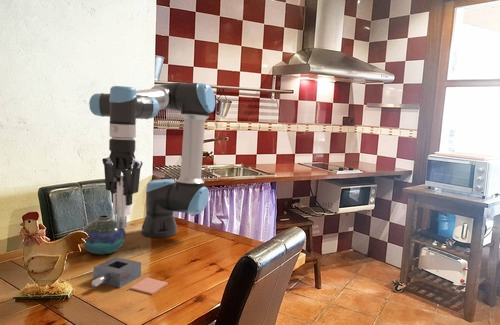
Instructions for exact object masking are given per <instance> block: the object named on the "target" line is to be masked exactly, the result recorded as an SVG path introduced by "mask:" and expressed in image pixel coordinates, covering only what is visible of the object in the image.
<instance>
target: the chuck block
mask: <svg viewBox="0 0 500 325" xmlns="http://www.w3.org/2000/svg"><path fill="white" fill-rule="evenodd" d="M139 277H142V262H140V261H137V260H132V259H128V258H124V257H119V256H115V257H113V258H111V259H108V260H106V261H104V262H102V263H99V264H97V265H95V266H94V267H93V280H92V281H91V286H92V287H94V288H96V287H98V286H100V285H102V284H103V285H107V286H110V287H114V288H118V289H121V288H122V287H124V286H126V285H128V284H130V283H132V282H133V281H134V280H136V279H138V278H139Z"/></svg>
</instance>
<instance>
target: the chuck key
mask: <svg viewBox="0 0 500 325" xmlns="http://www.w3.org/2000/svg"><path fill="white" fill-rule="evenodd" d="M113 182H117V203H116V214H115V216H116V218H115V219H116V220H115V221H116V228H118V229H123V228H124V229H126V228H127V221H128V220H127V218H128V217H127V216H128V215H127V216H123V195H124V193H125V188H124V179H123V175H121V176H117V177H113Z"/></svg>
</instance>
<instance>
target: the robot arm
mask: <svg viewBox="0 0 500 325" xmlns="http://www.w3.org/2000/svg"><path fill="white" fill-rule="evenodd" d="M88 106H89V110H90V112H91V113H92V114H93V115H94V116H96V117H109V137H110V139H109V140H108V141H109V143H108V145H109V146H108V148H109V149H108V150H109V152H110V154H109V156H108V157H105V158H102V164H103V167H104V183H105V184H104V185H105V190H106V191H109V192H110V194H111V195H110V197H111V198H110V199H111V203H112V215H114V216H116V203H117V182H113V177H117V176H123V179H124V188H125V193H124V195H123V216H129V215H131V206H132V204H133V195H134V194H136V193H138V192H139V190H140V189H139V188H140V179H141V178H140V177H141V169H142V166H143V161H142V160H141V161H139V160H137V159H136V156H135V151H136V139H134V138H136V137H137V135H136V131H137V130H136V128H137V125H136V124H137V120H136V119H138V120H139V119H141V120H149V119H153V118H155V117H156V116H157V115H158V114H159V111H160V110H171V111H179V112H180V116H181V117H182V118H183V134H182V145H181V146H182V148H181V149H182V150H181V162H180V165H181V166H180V176H179V178H178V179H176V182H175V180H174V179H173V178H163V179H162V178H161V179H154V180H151V181H149V182H148V183H147V184H146V189H145V190H146V191H145V192H146V193H145V196H146V197H145V201H146V203H145V217H144V220H143V223H142V225H141V234H142V235H143V236H145V237H148V238H156V239H157V238H160V239H161V238H169V237H172V236H175V235H176V234H177V233H178V225H177V223H176V218H175V215H174V212H176V213H177V212H178V213H183V214H184V213H186V214H188V215H191V214H193V215H199V214H201V213H202V212H203V211H204V210H205V209H206V207H207V204H208V201H209V197H210V196H209V195H210V193H209V189H208V187H206V186H205V181H204V180H203V179H202V170H203V156H204V155H203V154H204V140H205V127H206V120H208V119H209V118H210V114H211V113H213V112H214V111H215V108H216V96H215V92H214V90H213V88H212V87H211V86H210V85H209V84H208V83H203V82H171V83H163V84H161V85H155V86H153V87H151V88H149V89H139V90H137V89H136V88H135V87H132V86H124V85H122V86H120V85H113V86H112V87H110V90H109V93H103V92H100V93H95V94H93V95H91V97H90V99H89V102H88Z"/></svg>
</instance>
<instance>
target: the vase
mask: <svg viewBox="0 0 500 325" xmlns="http://www.w3.org/2000/svg"><path fill="white" fill-rule="evenodd" d="M82 231H84V232H86V233H87V234H88V236H89V237H88V238H87V239H85V241H86V243H85V244H82V246H83V247H84V249H85V250H86V251H87V252H89V253H91V254H94V255H108V254H112V253H114V252H116V251H118V250H119V249H120V248H121V247H122V245H123V244H124V242H125V239H126V231H125V228H123V229H118V228H116V220H114V219H112V218H110V216H109V215H107V214H103V215H102V214H101V215H98V216H97V218H96V219H94V220H93V221H90V222H89V223H87V224H86V225H85V226H84V228H82Z"/></svg>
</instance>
